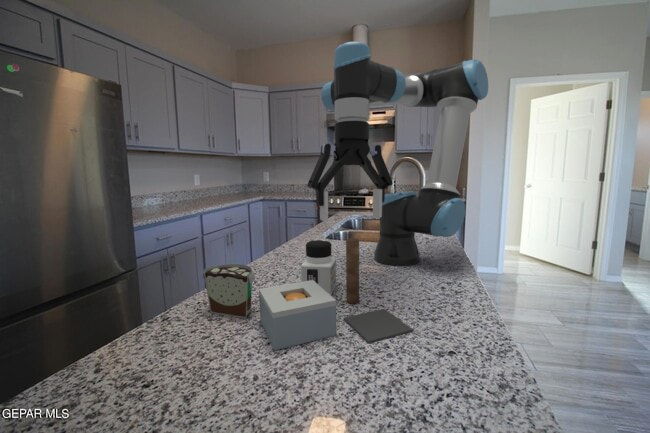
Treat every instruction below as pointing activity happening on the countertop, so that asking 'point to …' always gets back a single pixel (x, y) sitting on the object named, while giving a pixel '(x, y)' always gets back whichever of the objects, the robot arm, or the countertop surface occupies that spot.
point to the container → (319, 265)
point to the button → (294, 296)
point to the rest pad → (377, 325)
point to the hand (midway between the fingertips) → (351, 218)
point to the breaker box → (297, 314)
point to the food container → (229, 289)
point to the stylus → (352, 271)
